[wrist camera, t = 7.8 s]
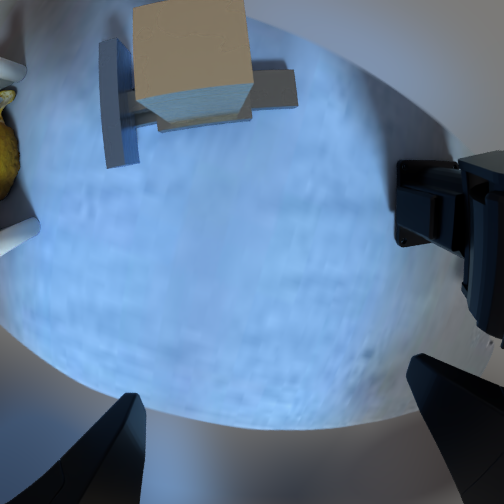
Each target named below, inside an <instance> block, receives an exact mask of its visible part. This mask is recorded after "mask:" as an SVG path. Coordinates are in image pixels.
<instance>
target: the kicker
mask: <svg viewBox="0 0 504 504" xmlns="http://www.w3.org/2000/svg"><path fill="white" fill-rule="evenodd" d="M133 60H134V82H135V91H133V90H132V71H131V53H130V52H129V51H128V50H127V48H126V47H125V46H124V45H123V44H122V43H121V42H120V41H119V39H118V38H113V39H110V40H107V41H104V42H101V43H99V87H100V107H101V120H102V132H103V141H104V150H105V158H106V166H107V169H109V168H116V167H123V166H128V165H133V164H138V163H140V161H139V153H138V145H137V136H136V126H135V116H134V115H135V114H140V113H144V112H149V111H152V112H154V113H155V114H156V117H157V127H158V132H161V133H165V132H170V131H176V130H182V129H188V128H195V127H202V126H209V125H217V124H225V123H235V122H245V121H250V120H251V119H252V111H251V102H250V93H249V92H250V90H251V88H252V86H253V84H254V80H253V71H252V63H251V55H250V47H249V39H248V31H247V23H246V15H245V8H244V1H243V0H167V1H162V2H157V3H152V4H148V5H143V6H139V7H135V8H133Z"/></svg>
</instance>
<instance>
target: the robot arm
mask: <svg viewBox="0 0 504 504" xmlns="http://www.w3.org/2000/svg"><path fill="white" fill-rule="evenodd" d="M403 164H404V165H405V168H404V170H403V168H402V166H403ZM453 166H454V169H453ZM459 169H461V170H459ZM396 222H397V233H396V243H397V245H399V246H401V247H409V246H415V245H421V244H427V243H434V244H436V245H438V246H440V247H442V248H444V249H446V250H447V251H449V252H451V253H453V254H455V255H457V256H459V257H461V258H463V259H464V279H463V282H462V288H461V291H462V292H463V294H464V295H465V297H466V298H467V303H468V308H469V310H470V312H471V313H472V315H473V316H474V318H475V319H476V320H477V323H476V324H477V326H478V327H479V328H480V329H481V330H483V331H484V332H485V333H487V334H489V335H491V336H493V337H495V338H499V339H502V343H501V348H502V349H504V151H499V150H498V151H492V152H487V153H483V154H478V155H474V156H469V157H465V158H460V159H458V163H457V162H454V161H436V160H399V161H398V163H397V209H396ZM403 238H404V241H403V242H401V241H402V239H403ZM406 378H407V381H408V384H409V386H410V388H411V391H412V393H413V396H414V398H415V401H416V403H417V406H418V408H419V410H420V413H421V415H422V416H423V419H424V421H425V422H426V424H427V426H428V428H429V430H430V432H431V434H432V436H433V438H434V440H435V442H436V444H437V446H438V448H439V450H440V452H441V454H442V456H443V458H444V460H445V463H446V465H447V467H448V469H449V471H450V473H451V475H452V477H453V480H454V482H455V484H456V486H457V489H458V491H459V493H460V495H461V498H462V501H463V503H464V504H504V387H501V386H499V385H497V384H494V383H492V382H489V381H487V380H485V379H482V378H480V377H477V376H475V375H473V374H470V373H468V372H466V371H463V370H461V369H459V368H456V367H454V366H451V365H449V364H447V363H444V362H442V361H440V360H438V359H435V358H433V357H431V356H428V355H426V354H424V353H420V354H417V355H414V356H413V357H412V358H411V360H410V363H409V366H408V369H407V373H406ZM145 443H146V410H145V408H144V405H143V403H142V401H141V398H140V396H139V394H137V393H125V394H123V395H122V396H121V397H120V399H119V400H118V401H117V402H116V403H115V404H114V405H113V406H112V407H111V408H110V409H109V410H108V411H107V412H106V413H105V414H104V415H103V416H102V417H101V418H100V419H99V420H98V421H97V422H96V423H95V424H94V425H93V426H92V427H91V428H90V429H89V430H88V431H87V432H86V433H85V434H84V435H83V436H82V437H81V438H80V439H79V440H78V441H77V442H76V443H75V444H74V445H73V446H72V447H71V448H70V449H69V450H68V451H67V452H66V453H65V454H64V455H63V456H62V457H61V458H60V460H59V461H57V462H56V463H55V464H54V465H53V466H52V467H51V468H50V469H49V470H48V471H47V472H46V473H45V474H44V475H43V476H41V477H40V478H39V479H38V480H37V481H35V482H34V483H33V484H32V485H31V486H29V487H28V488H26V489H25V490H24V491H22V492H21V493H20V494H18V495H17V496H16V497H14V498H13V499H12V500H10V501H9V502H7V503H5V504H140V494H141V485H142V478H143V477H142V476H143V469H144V462H145V446H146V444H145Z"/></svg>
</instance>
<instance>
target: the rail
mask: <svg viewBox="0 0 504 504" xmlns="http://www.w3.org/2000/svg"><path fill="white" fill-rule="evenodd" d="M253 80H254V84H253V86H252V88H251V90H250V92H249V93H250V102H251V111H255V110H270V109H292V108H296V107H297V106H298V98H297V90H296V82H295V75H294V70H257V71H253ZM132 90H133V91H135V88H133V89H132ZM134 116H135V126H136V128H139V127H143V126H148V125H153V124H157V117H156V114H155V113H154V112H152V111H149V112H144V113H140V114H135V115H134Z"/></svg>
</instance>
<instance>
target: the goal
mask: <svg viewBox="0 0 504 504" xmlns="http://www.w3.org/2000/svg"><path fill="white" fill-rule="evenodd" d="M26 72H27V68H26V66H24V65H22V64H19V63H16V62H13V61H10V60H8V59H5V58H2V57H0V90H2V89H4V88H5V87H7V86H9V85H11V84H13V83H14V82H17V83H18V82H20V81H22V80H23V78H24V77H25V75H26ZM39 232H40V223H39V221H38V219H36V218H35V217H31V218H29V219H26V220H24V221H22V222H20V223H17V224H15V225H12V226H9V227H5V228H2V229H0V256H2V255H3V254H5V253H7V252H8V251H10V250H12V249H13V248H15V247H17V246H19V245H20V244H22V243H24V242H26V241H27V240H29V239H31V238H33V237H34V236H36V235H38V234H39Z"/></svg>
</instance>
